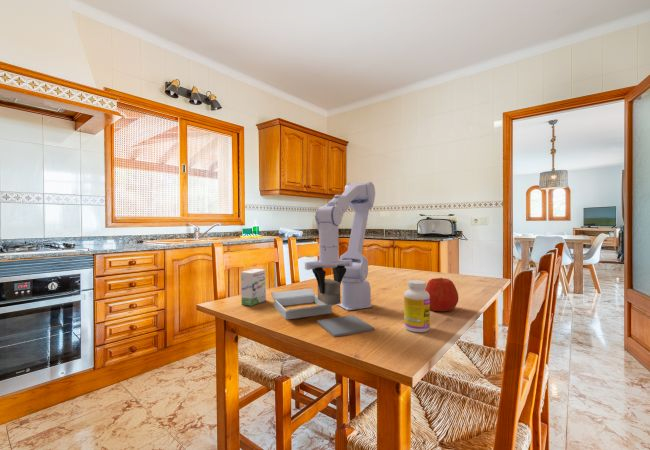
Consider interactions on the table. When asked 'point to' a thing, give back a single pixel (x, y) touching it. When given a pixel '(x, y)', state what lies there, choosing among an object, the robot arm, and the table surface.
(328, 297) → the block
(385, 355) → the table surface
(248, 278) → the ink box
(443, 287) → the apple
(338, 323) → the mat
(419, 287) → the supplement bottle
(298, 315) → the grey shallow open piece
